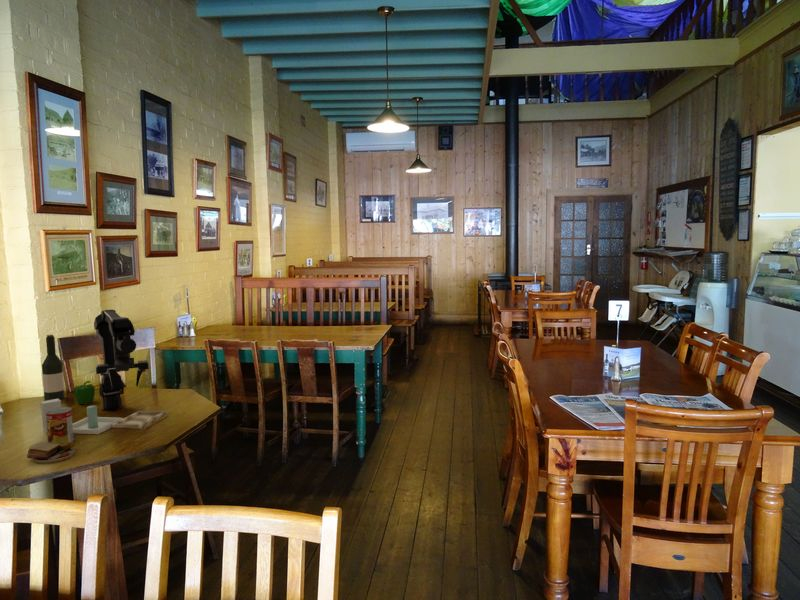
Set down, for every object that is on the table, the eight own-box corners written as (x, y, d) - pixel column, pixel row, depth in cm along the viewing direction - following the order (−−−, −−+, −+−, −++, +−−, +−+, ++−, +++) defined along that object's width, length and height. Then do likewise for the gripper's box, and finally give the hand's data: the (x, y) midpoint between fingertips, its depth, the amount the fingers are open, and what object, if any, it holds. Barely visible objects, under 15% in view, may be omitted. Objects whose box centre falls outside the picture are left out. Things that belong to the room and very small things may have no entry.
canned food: (50, 440, 207) (47, 408, 206) (75, 437, 210) (72, 406, 209) (46, 447, 200) (44, 414, 198) (72, 444, 203) (69, 411, 201)
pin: (86, 428, 219) (84, 408, 218) (92, 425, 222) (90, 405, 221) (94, 428, 218) (92, 408, 218) (100, 425, 222) (98, 405, 221)
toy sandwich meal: (57, 465, 184) (56, 451, 184) (20, 463, 186) (19, 449, 185) (84, 451, 196) (83, 438, 196) (48, 450, 198) (47, 436, 198)
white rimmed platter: (61, 434, 214) (61, 428, 214) (88, 421, 229) (88, 416, 229) (98, 435, 212) (98, 430, 212) (122, 422, 227) (122, 417, 227)
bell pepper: (72, 406, 251) (70, 384, 250) (77, 401, 259) (76, 379, 257) (92, 405, 252) (91, 383, 251) (98, 400, 260) (96, 378, 259)
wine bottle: (58, 401, 259) (53, 336, 256) (40, 401, 259) (35, 336, 256) (69, 396, 267) (64, 333, 264) (51, 396, 267) (46, 333, 264)
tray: (141, 429, 218) (140, 425, 218) (112, 428, 219) (111, 424, 219) (166, 415, 236) (166, 411, 235) (139, 414, 237) (139, 410, 237)
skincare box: (60, 428, 221) (58, 398, 220) (63, 430, 218) (61, 400, 217) (42, 432, 217) (40, 401, 215) (45, 434, 214) (43, 403, 212)
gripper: (93, 355, 215) (96, 395, 216) (147, 351, 222) (149, 390, 224) (96, 350, 225) (98, 388, 226) (147, 346, 232) (149, 383, 234)
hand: (124, 388), depth 227 cm, fingers open, 9 cm apart
